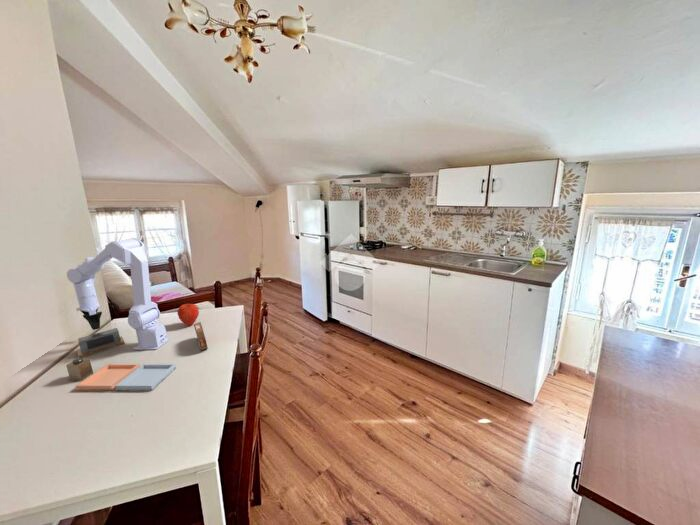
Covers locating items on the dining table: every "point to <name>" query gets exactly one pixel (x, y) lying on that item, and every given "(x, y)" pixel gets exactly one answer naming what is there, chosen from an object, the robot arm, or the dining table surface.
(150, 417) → the dining table surface
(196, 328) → the tin
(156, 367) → the blue-grey tray
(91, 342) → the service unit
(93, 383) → the terracotta tray
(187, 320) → the apple
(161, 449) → the dining table surface
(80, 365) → the wooden block with knob
